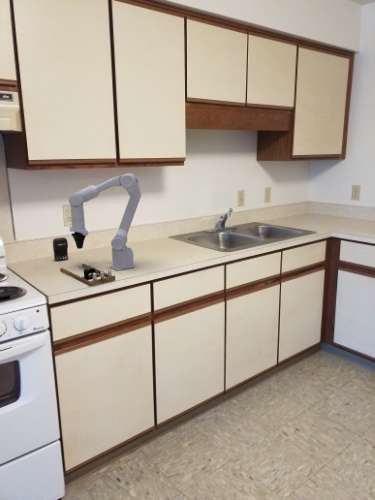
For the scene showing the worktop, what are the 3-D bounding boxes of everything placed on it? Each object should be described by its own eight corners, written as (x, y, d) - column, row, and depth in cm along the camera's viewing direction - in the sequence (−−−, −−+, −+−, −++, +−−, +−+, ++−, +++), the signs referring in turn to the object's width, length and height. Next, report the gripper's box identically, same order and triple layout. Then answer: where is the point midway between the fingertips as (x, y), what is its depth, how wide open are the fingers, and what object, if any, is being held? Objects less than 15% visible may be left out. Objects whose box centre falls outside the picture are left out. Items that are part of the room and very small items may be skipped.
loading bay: (83, 266, 187) (83, 256, 186) (115, 280, 167) (115, 269, 165) (60, 271, 180) (59, 260, 179) (90, 286, 159) (90, 274, 158)
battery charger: (55, 262, 195) (53, 239, 192) (53, 260, 198) (51, 238, 196) (69, 260, 199) (68, 237, 196) (67, 258, 202) (65, 236, 199)
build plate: (83, 283, 165) (82, 273, 163) (72, 280, 169) (72, 270, 168) (106, 276, 174) (105, 266, 173) (95, 273, 178) (95, 263, 177)
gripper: (62, 218, 183) (64, 246, 186) (77, 222, 172) (79, 252, 175) (76, 216, 187) (78, 244, 190) (91, 220, 177) (93, 249, 180)
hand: (79, 248), depth 183 cm, fingers closed
